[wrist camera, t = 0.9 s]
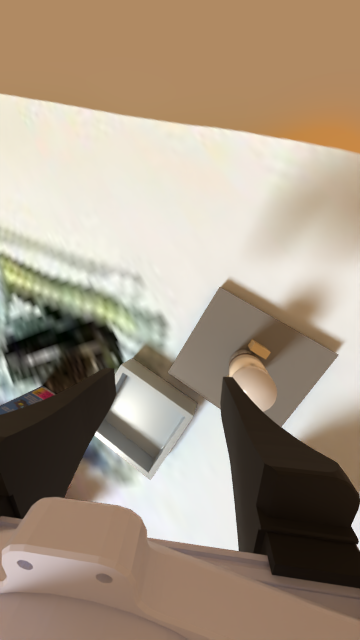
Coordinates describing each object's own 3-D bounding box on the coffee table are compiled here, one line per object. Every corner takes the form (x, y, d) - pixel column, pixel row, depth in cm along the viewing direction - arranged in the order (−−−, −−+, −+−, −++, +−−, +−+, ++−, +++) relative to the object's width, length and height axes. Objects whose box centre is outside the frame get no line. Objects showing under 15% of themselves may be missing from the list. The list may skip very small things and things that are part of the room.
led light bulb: (267, 360, 24) (287, 386, 17) (249, 385, 25) (260, 422, 17) (239, 343, 25) (245, 360, 17) (222, 368, 26) (221, 395, 18)
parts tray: (197, 403, 28) (193, 416, 25) (158, 460, 31) (150, 480, 27) (132, 357, 30) (121, 364, 27) (100, 415, 33) (86, 428, 29)
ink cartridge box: (51, 444, 36) (-63, 535, 22) (28, 428, 37) (-95, 506, 23) (66, 399, 34) (-46, 465, 20) (42, 384, 35) (-80, 438, 21)
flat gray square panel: (331, 351, 24) (352, 360, 20) (266, 434, 27) (273, 457, 23) (219, 287, 26) (219, 284, 23) (170, 369, 29) (161, 379, 25)
